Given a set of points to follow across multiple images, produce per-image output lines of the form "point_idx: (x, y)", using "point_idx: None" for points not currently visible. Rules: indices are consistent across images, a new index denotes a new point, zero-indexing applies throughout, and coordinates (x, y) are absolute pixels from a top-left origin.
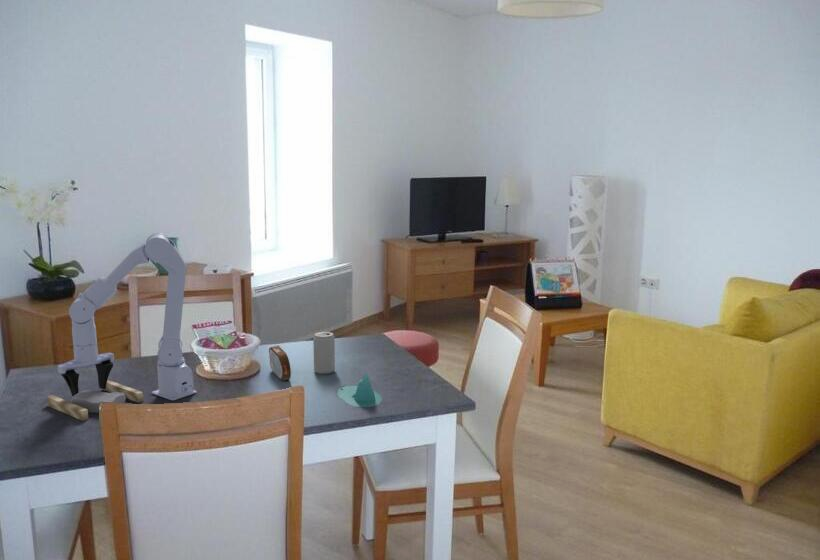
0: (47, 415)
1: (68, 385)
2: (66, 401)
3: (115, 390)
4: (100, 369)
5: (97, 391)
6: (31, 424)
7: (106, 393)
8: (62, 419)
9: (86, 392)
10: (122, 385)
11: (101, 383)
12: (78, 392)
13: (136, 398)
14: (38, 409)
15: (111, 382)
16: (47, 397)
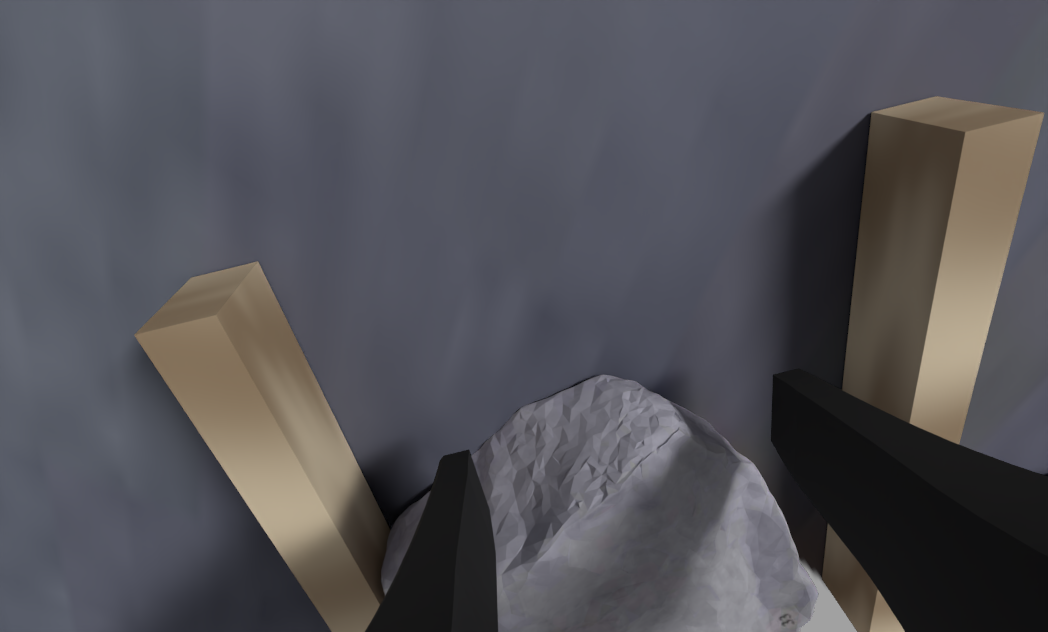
0: (191, 512)
1: (403, 573)
2: (351, 574)
3: (872, 372)
4: (980, 628)
5: (677, 533)
6: (63, 612)
7: (702, 616)
8: (302, 619)
9: (557, 609)
10: (952, 438)
11: (812, 455)
12: (493, 567)
13: (841, 591)
14: (90, 331)
15: (972, 281)
16: (149, 351)
